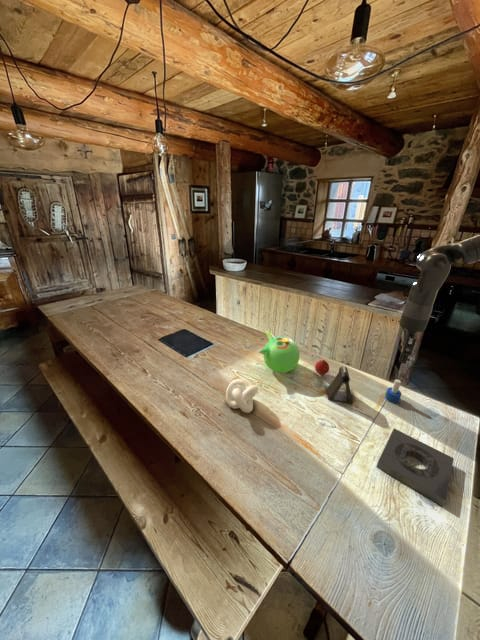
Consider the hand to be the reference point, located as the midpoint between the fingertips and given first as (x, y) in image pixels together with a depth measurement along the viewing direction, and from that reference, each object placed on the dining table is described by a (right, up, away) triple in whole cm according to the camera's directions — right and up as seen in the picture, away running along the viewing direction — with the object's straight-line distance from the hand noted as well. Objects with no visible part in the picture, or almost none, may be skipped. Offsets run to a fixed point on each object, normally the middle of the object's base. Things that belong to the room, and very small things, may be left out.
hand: (401, 356), depth 92 cm
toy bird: (-39, -9, +28) cm, 49 cm away
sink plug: (+2, -18, +10) cm, 21 cm away
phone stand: (-18, -17, +11) cm, 27 cm away
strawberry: (-21, -11, +23) cm, 34 cm away
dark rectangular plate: (-6, -30, -15) cm, 34 cm away
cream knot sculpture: (-56, -19, +6) cm, 60 cm away
